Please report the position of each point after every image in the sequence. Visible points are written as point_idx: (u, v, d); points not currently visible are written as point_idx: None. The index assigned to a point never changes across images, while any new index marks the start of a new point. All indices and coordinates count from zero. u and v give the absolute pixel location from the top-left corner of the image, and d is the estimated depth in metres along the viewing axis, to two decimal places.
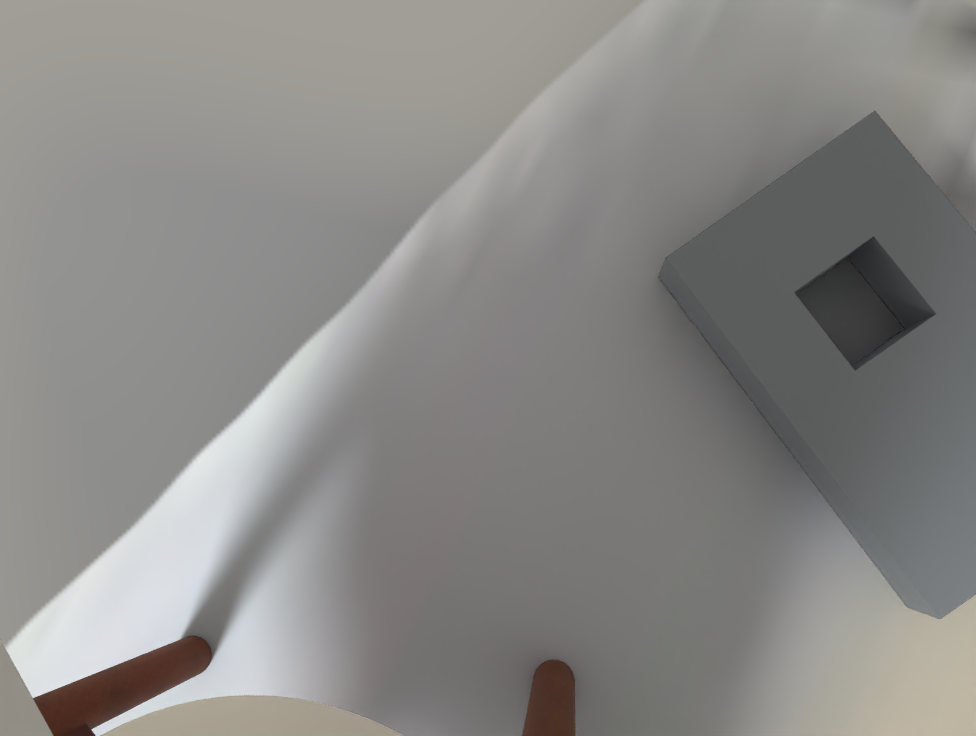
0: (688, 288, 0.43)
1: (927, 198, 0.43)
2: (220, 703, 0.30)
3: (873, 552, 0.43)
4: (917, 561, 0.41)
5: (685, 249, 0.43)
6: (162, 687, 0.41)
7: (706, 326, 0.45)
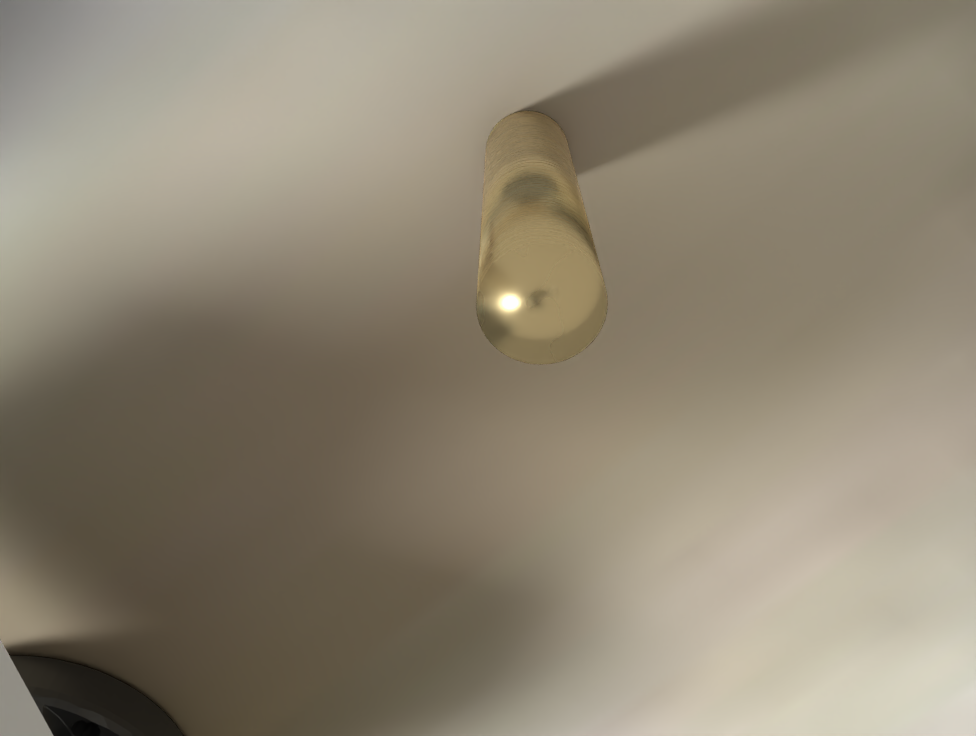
0: None
1: None
2: None
3: None
4: None
5: None
6: None
7: None
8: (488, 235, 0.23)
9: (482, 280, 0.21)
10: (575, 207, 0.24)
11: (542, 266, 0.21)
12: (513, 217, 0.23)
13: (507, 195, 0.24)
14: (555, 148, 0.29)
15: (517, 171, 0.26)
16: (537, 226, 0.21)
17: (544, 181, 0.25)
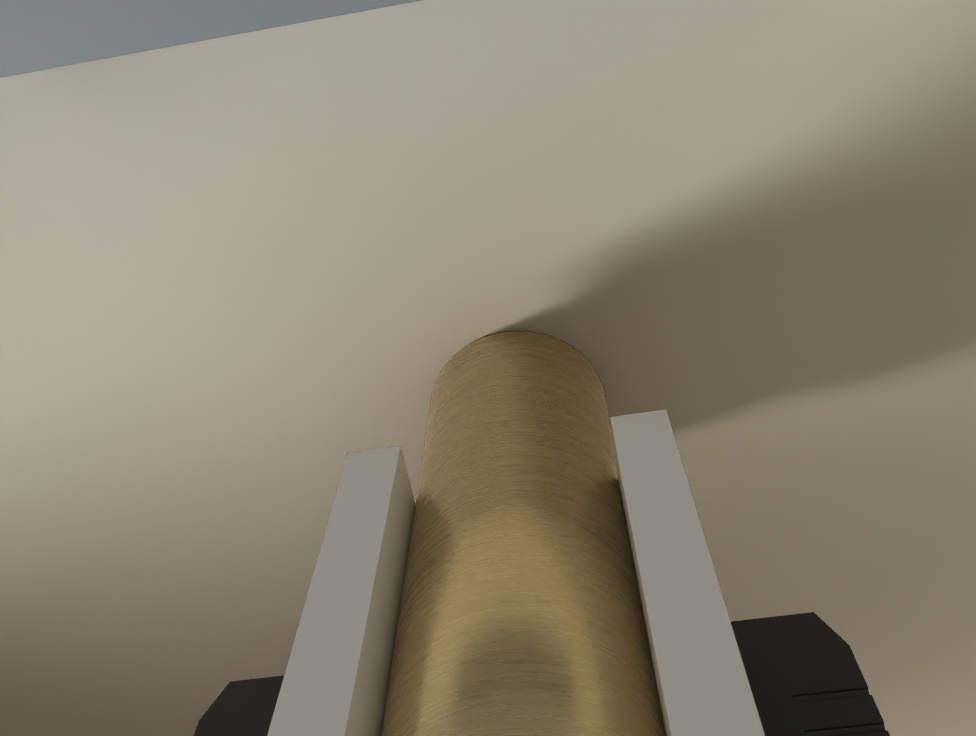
0: None
1: None
2: None
3: None
4: None
5: None
6: None
7: None
8: None
9: None
10: None
11: None
12: None
13: None
14: (585, 510, 0.11)
15: (474, 704, 0.08)
16: None
17: None
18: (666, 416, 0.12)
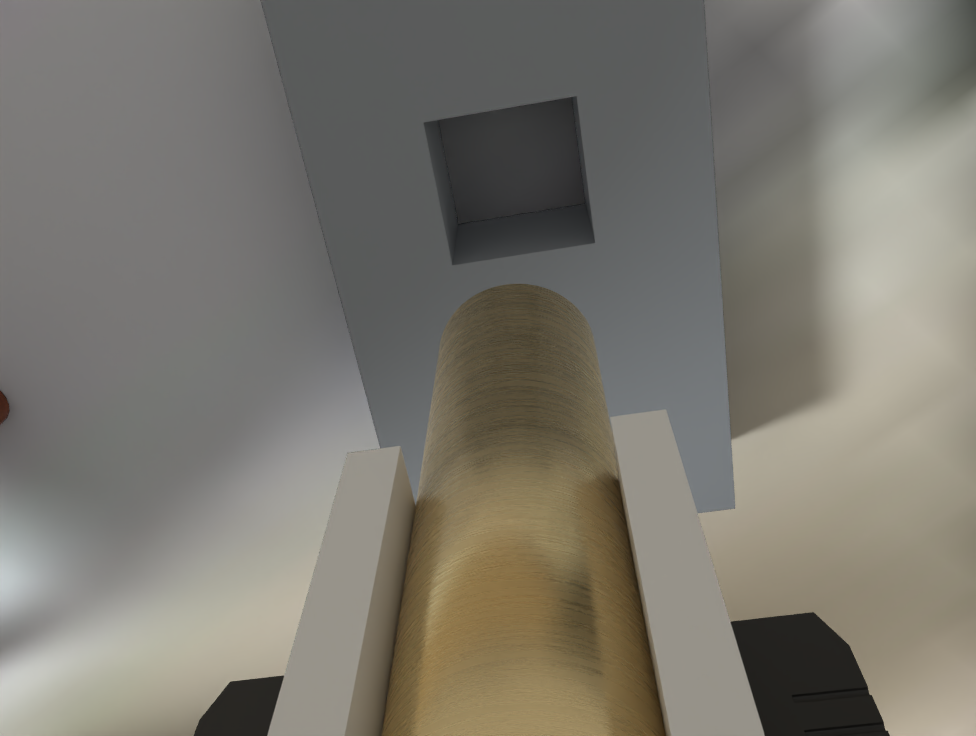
0: (272, 38, 0.26)
1: (682, 78, 0.26)
2: None
3: None
4: (413, 492, 0.33)
5: None
6: None
7: None
8: None
9: None
10: None
11: None
12: None
13: (443, 701, 0.09)
14: (574, 422, 0.13)
15: (480, 557, 0.10)
16: None
17: (549, 636, 0.09)
18: (665, 417, 0.12)
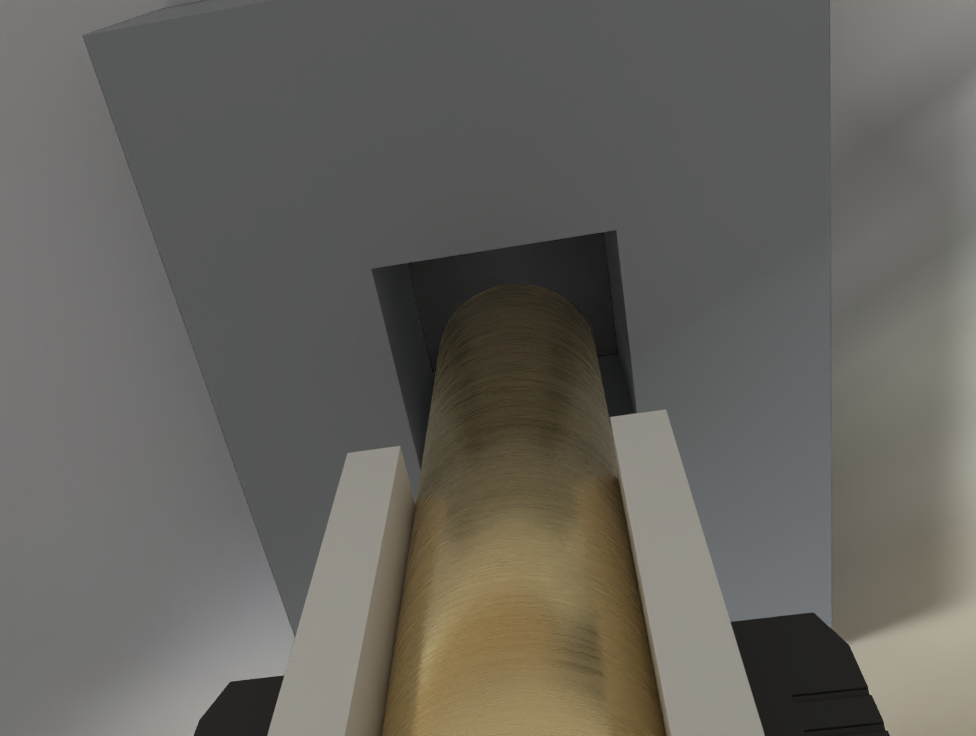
0: None
1: (788, 203, 0.16)
2: None
3: None
4: None
5: (142, 38, 0.15)
6: None
7: None
8: None
9: None
10: None
11: None
12: None
13: (443, 703, 0.09)
14: (574, 422, 0.13)
15: (480, 557, 0.10)
16: None
17: (550, 636, 0.09)
18: (665, 417, 0.12)
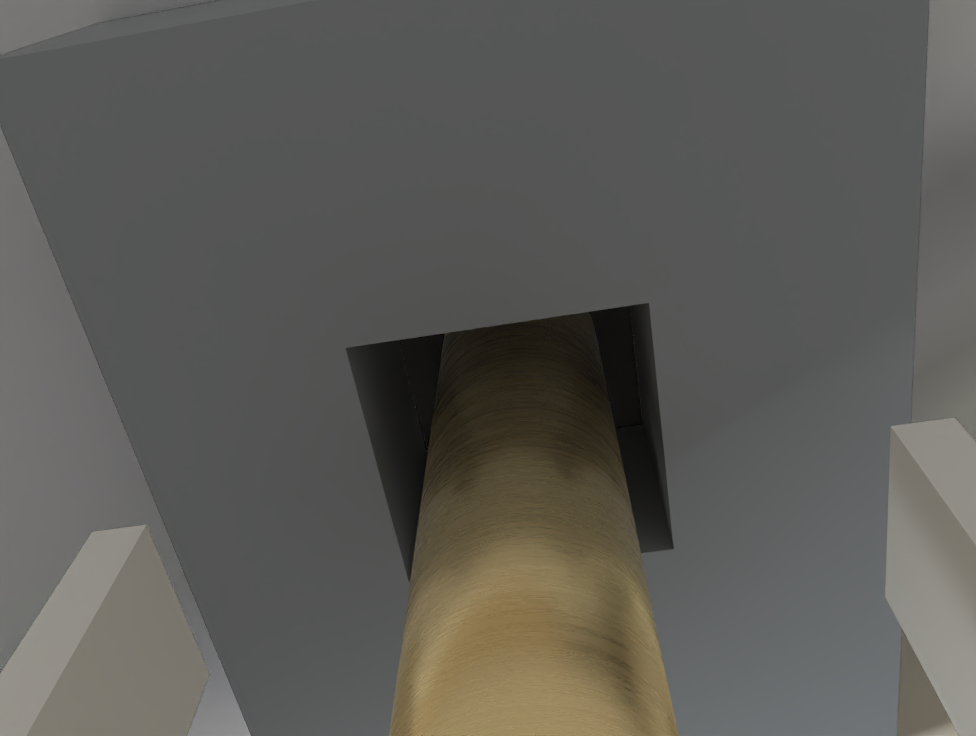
0: None
1: (865, 271, 0.13)
2: None
3: None
4: None
5: (51, 67, 0.12)
6: None
7: None
8: None
9: None
10: (644, 715, 0.09)
11: None
12: None
13: (455, 663, 0.09)
14: (577, 405, 0.13)
15: (488, 530, 0.11)
16: None
17: (556, 602, 0.09)
18: (959, 426, 0.11)
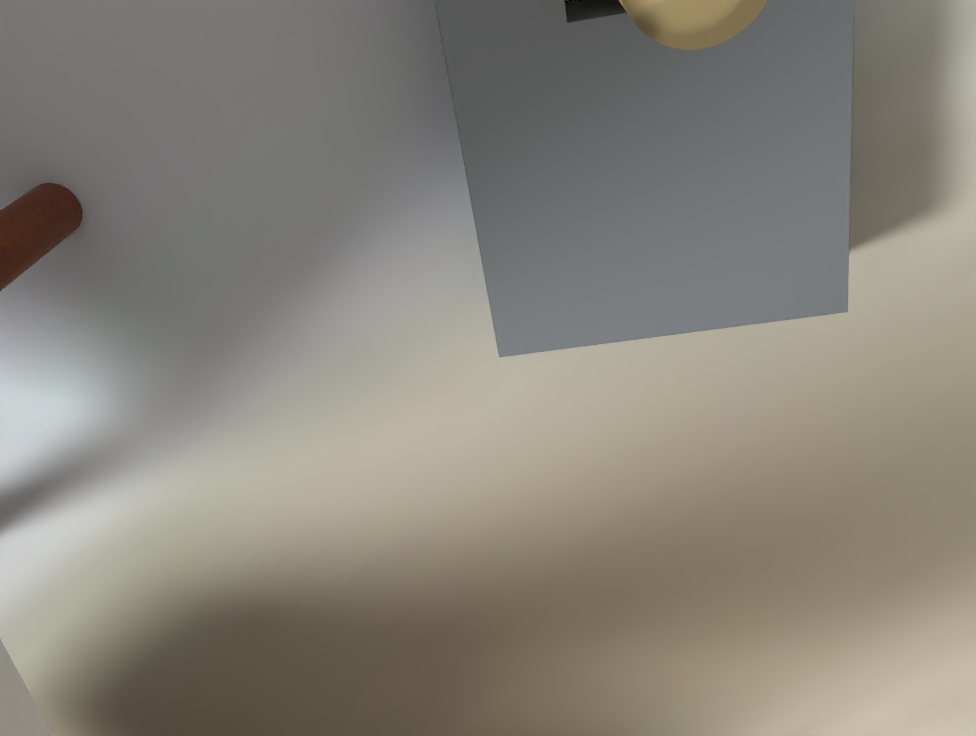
0: None
1: None
2: None
3: None
4: (509, 290, 0.31)
5: None
6: None
7: None
8: None
9: None
10: None
11: None
12: None
13: None
14: None
15: None
16: None
17: None
18: None
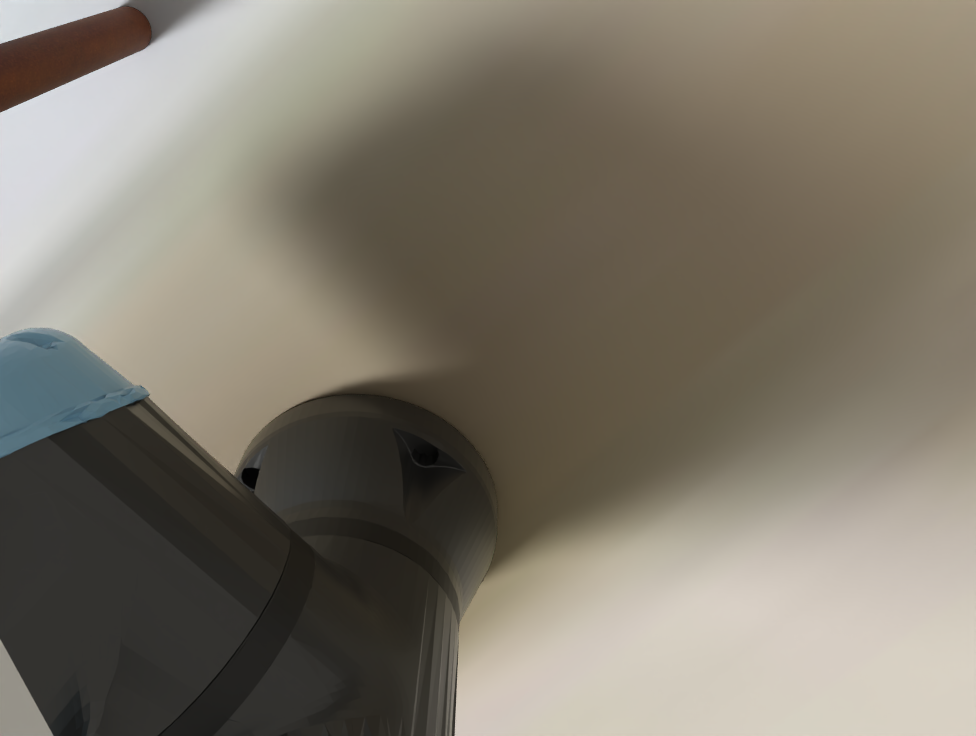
0: None
1: None
2: None
3: None
4: None
5: None
6: None
7: None
8: None
9: None
10: None
11: None
12: None
13: None
14: None
15: None
16: None
17: None
18: None
